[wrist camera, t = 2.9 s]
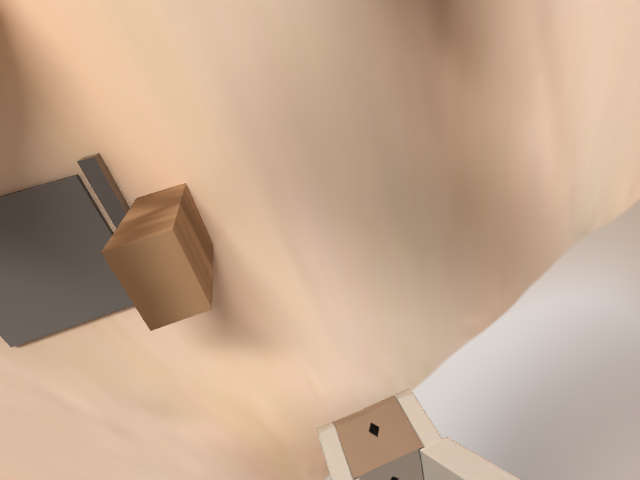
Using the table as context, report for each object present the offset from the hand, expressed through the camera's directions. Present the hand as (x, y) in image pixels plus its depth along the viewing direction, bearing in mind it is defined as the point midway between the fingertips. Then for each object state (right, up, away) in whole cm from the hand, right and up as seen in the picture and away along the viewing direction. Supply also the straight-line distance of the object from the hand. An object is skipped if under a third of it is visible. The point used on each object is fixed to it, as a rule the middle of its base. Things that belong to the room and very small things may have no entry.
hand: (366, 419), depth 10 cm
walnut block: (-14, +7, +19) cm, 24 cm away
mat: (-24, +3, +18) cm, 30 cm away
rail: (-17, +6, +19) cm, 26 cm away
